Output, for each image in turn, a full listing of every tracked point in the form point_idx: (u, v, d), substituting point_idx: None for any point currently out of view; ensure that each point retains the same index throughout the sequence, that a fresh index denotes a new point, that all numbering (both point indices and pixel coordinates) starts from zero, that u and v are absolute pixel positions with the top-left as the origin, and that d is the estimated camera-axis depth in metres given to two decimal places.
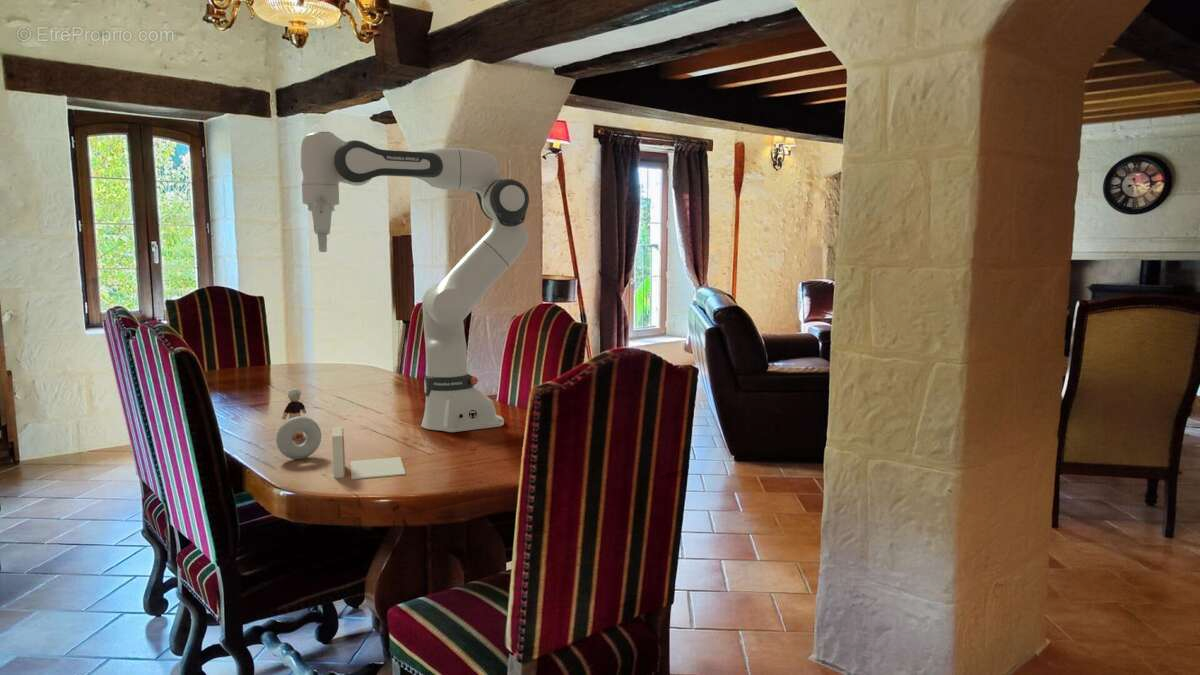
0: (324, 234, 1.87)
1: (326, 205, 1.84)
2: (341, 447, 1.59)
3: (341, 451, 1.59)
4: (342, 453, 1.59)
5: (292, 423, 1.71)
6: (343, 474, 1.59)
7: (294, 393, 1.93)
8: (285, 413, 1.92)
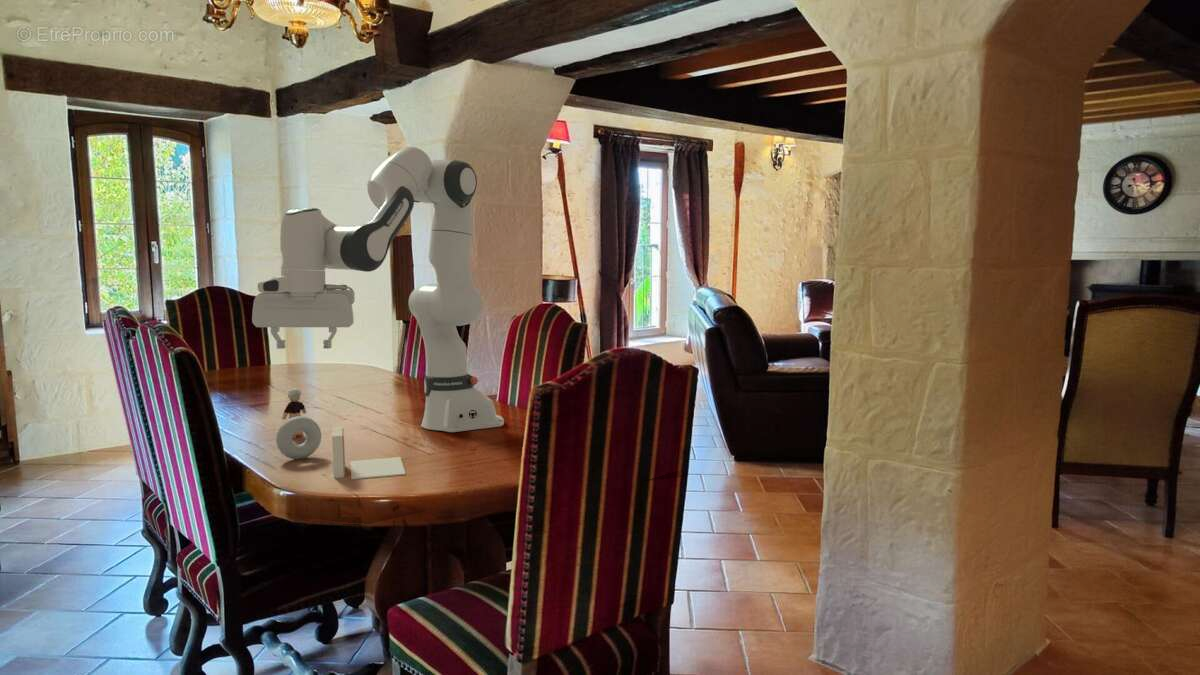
0: (336, 328, 1.64)
1: None
2: (341, 447, 1.59)
3: (341, 451, 1.59)
4: (342, 453, 1.59)
5: (292, 423, 1.71)
6: (343, 474, 1.59)
7: (294, 393, 1.93)
8: (285, 413, 1.92)
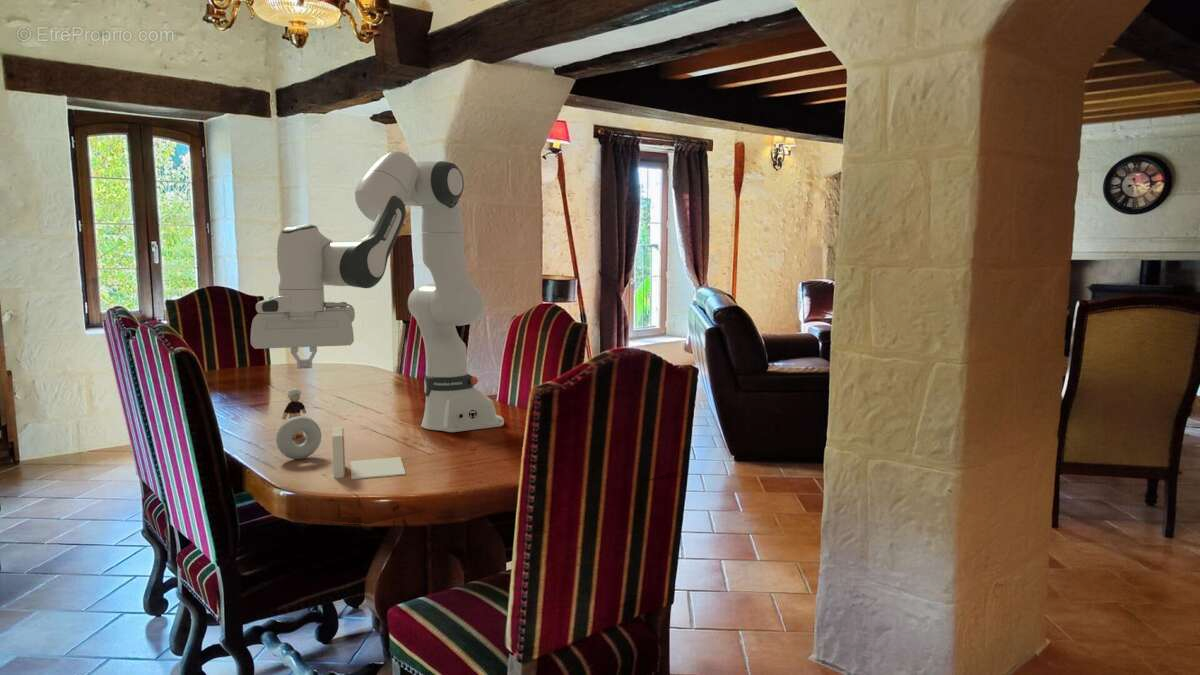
0: None
1: None
2: (341, 447, 1.59)
3: (341, 451, 1.59)
4: (342, 453, 1.59)
5: (292, 423, 1.71)
6: (343, 474, 1.59)
7: (294, 393, 1.93)
8: (285, 413, 1.92)
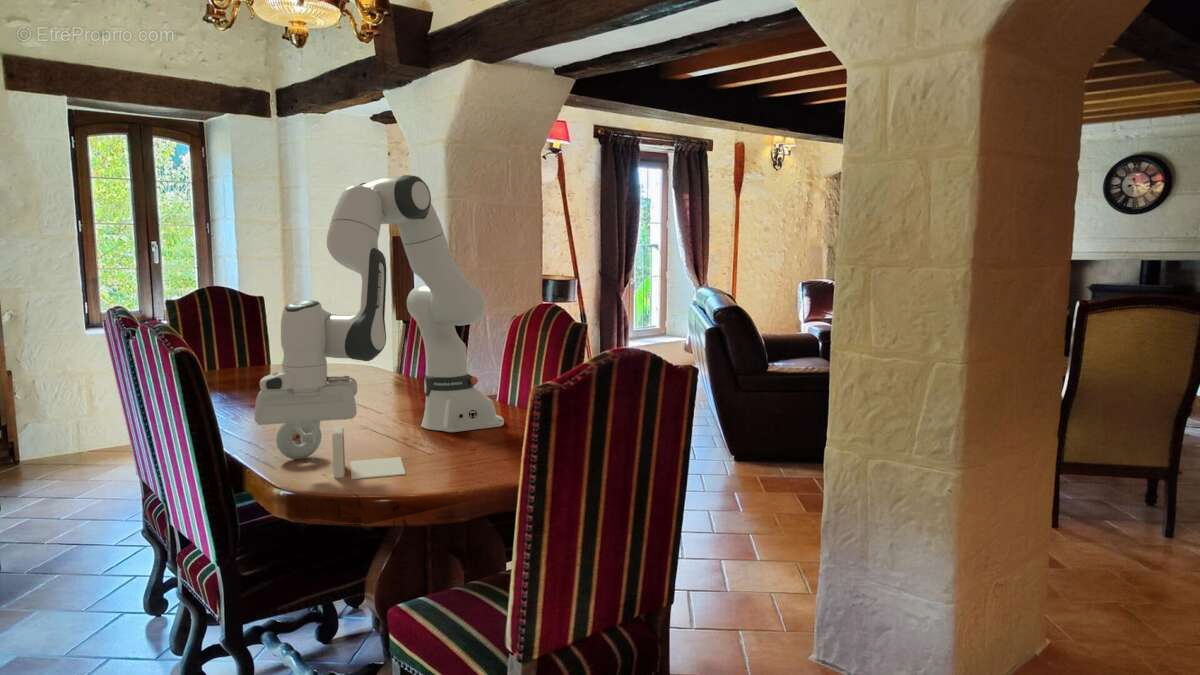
0: None
1: None
2: (341, 447, 1.59)
3: (341, 451, 1.59)
4: (342, 453, 1.59)
5: (292, 423, 1.71)
6: (343, 474, 1.59)
7: None
8: None
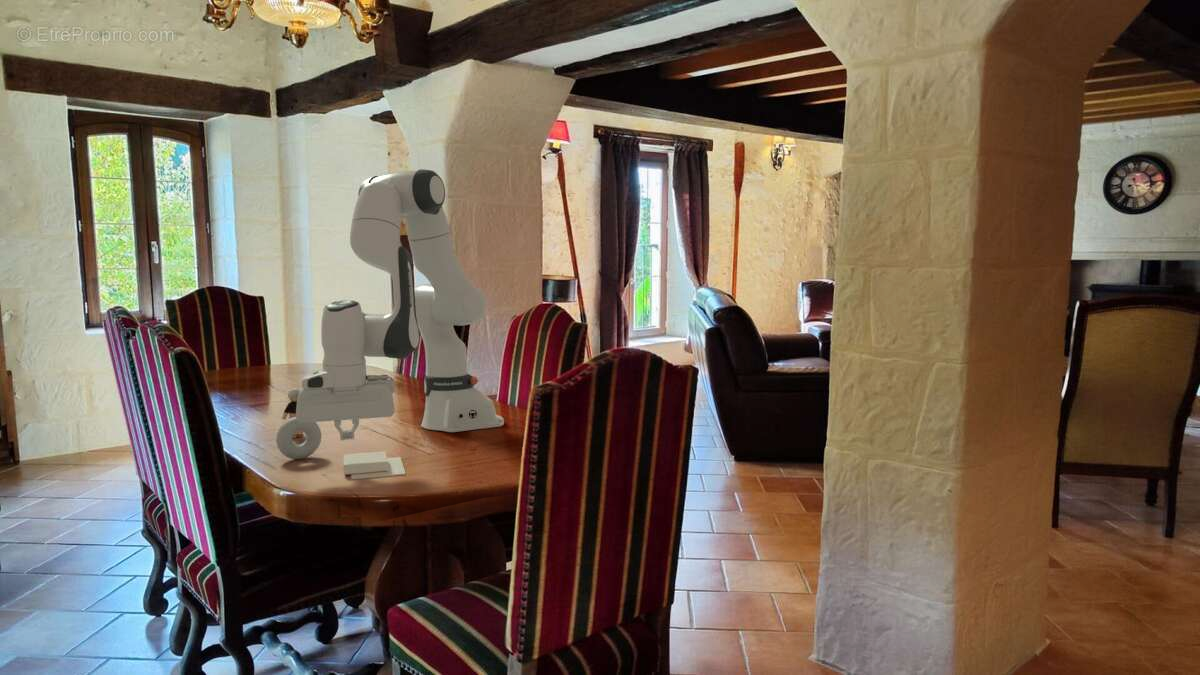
0: None
1: None
2: (375, 470, 1.61)
3: (371, 470, 1.61)
4: (369, 471, 1.61)
5: (292, 423, 1.71)
6: (346, 473, 1.60)
7: (294, 393, 1.93)
8: (285, 413, 1.92)
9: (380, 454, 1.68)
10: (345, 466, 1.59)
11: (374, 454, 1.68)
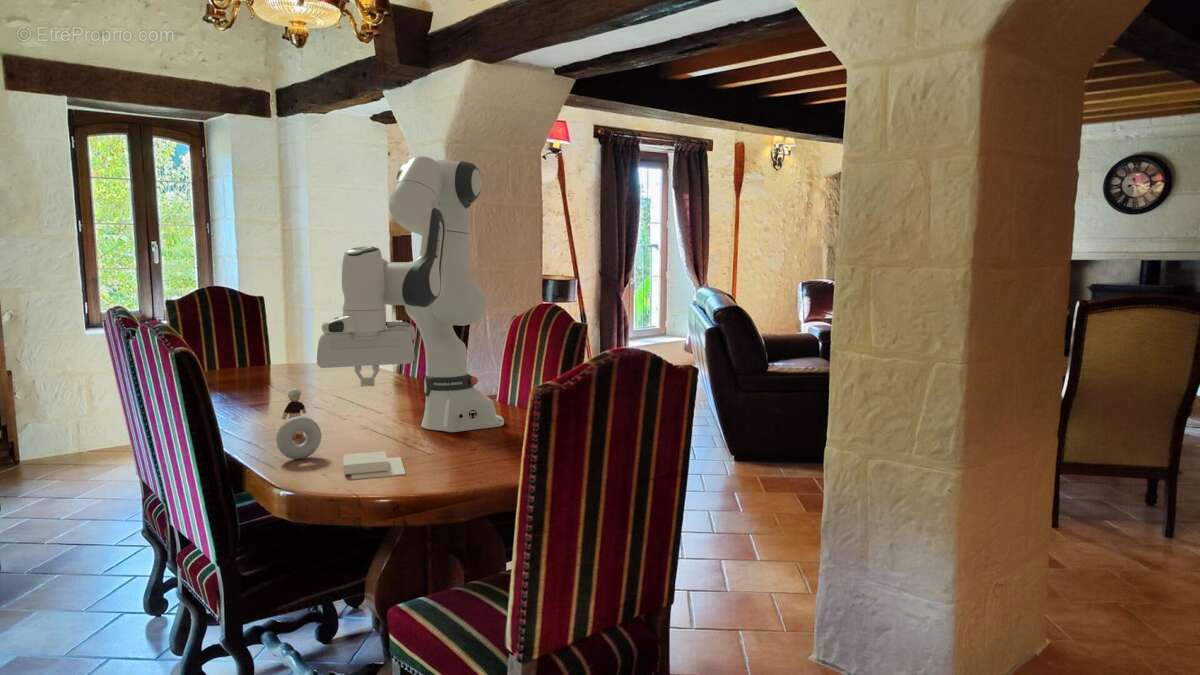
0: None
1: None
2: (375, 470, 1.61)
3: (371, 470, 1.61)
4: (369, 471, 1.61)
5: (292, 423, 1.71)
6: (346, 473, 1.60)
7: (294, 393, 1.93)
8: (285, 413, 1.92)
9: (380, 454, 1.68)
10: (345, 466, 1.59)
11: (374, 454, 1.68)
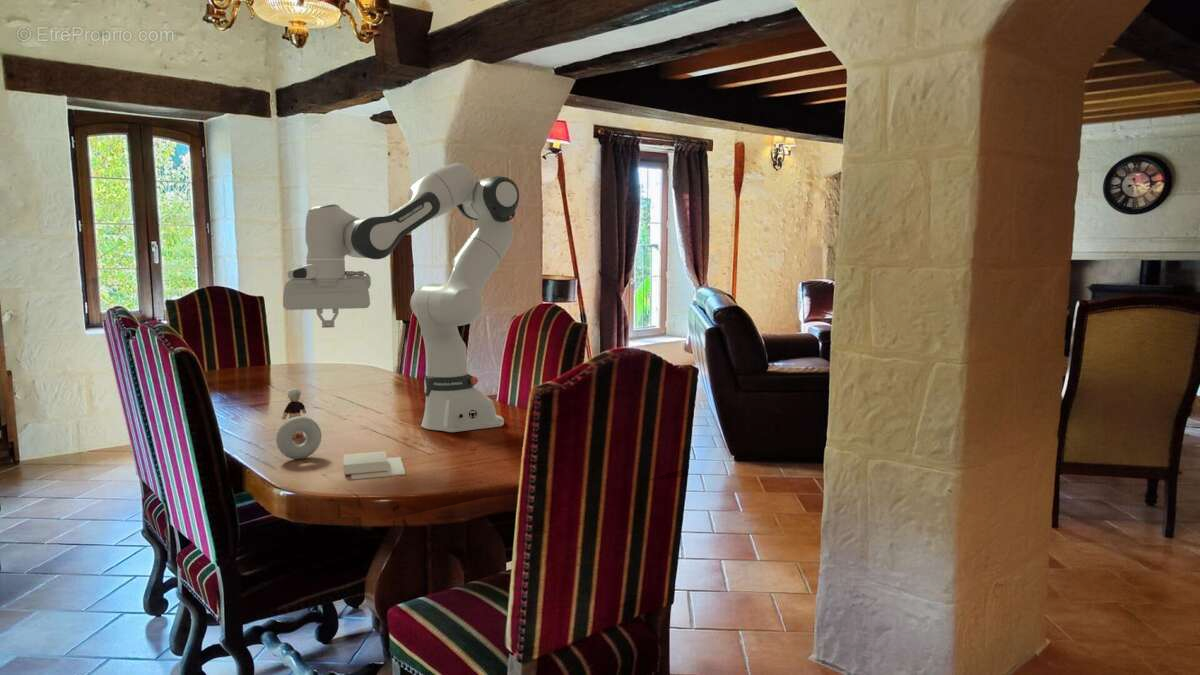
0: None
1: None
2: (375, 470, 1.61)
3: (371, 470, 1.61)
4: (369, 471, 1.61)
5: (292, 423, 1.71)
6: (346, 473, 1.60)
7: (294, 393, 1.93)
8: (285, 413, 1.92)
9: (380, 454, 1.68)
10: (345, 466, 1.59)
11: (374, 454, 1.68)
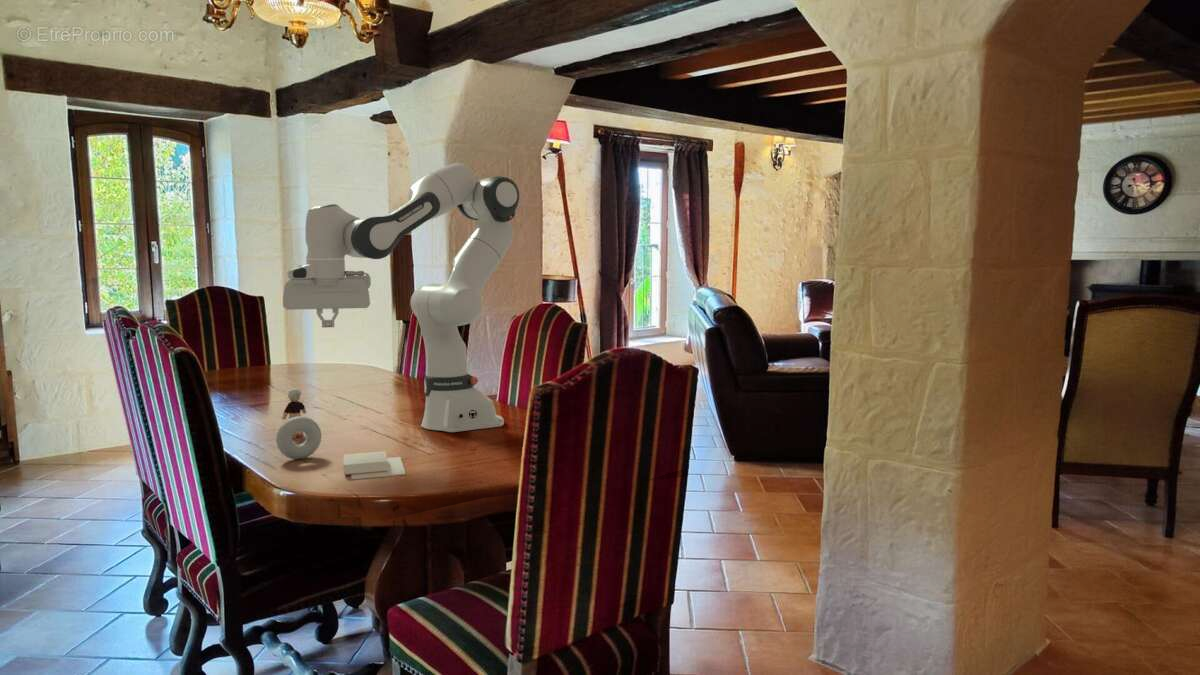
0: None
1: None
2: (375, 470, 1.61)
3: (371, 470, 1.61)
4: (369, 471, 1.61)
5: (292, 423, 1.71)
6: (346, 473, 1.60)
7: (294, 393, 1.93)
8: (285, 413, 1.92)
9: (380, 454, 1.68)
10: (345, 466, 1.59)
11: (374, 454, 1.68)
